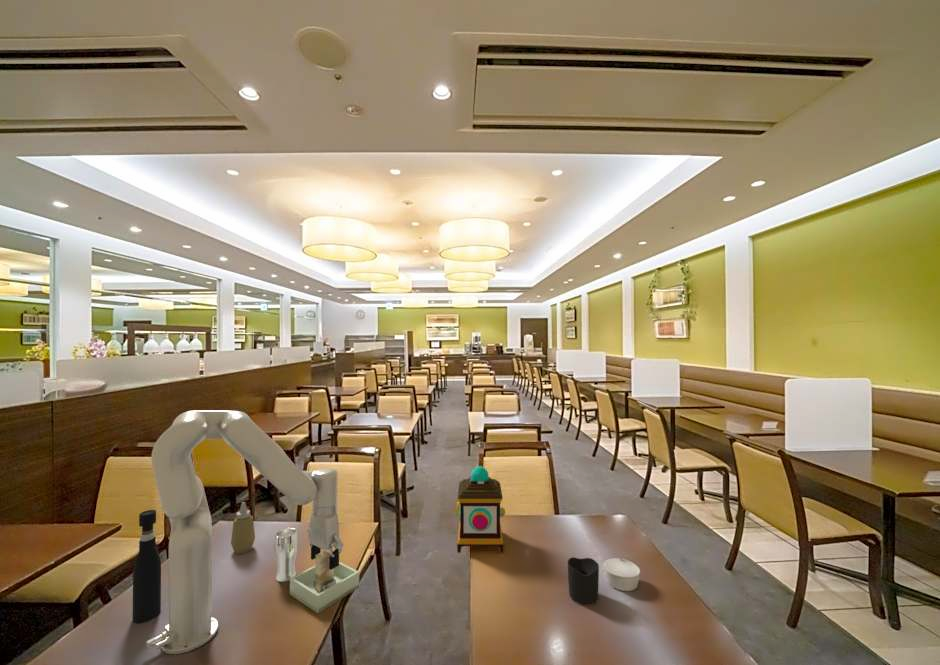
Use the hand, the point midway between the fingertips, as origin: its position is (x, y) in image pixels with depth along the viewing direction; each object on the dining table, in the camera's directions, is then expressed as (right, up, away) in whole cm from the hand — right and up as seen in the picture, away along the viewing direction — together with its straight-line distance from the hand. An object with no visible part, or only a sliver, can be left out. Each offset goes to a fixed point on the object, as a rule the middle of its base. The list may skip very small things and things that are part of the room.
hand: (324, 562), depth 128 cm
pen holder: (+82, -9, -3) cm, 83 cm away
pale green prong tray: (0, -9, 0) cm, 9 cm away
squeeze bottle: (-40, -10, +25) cm, 48 cm away
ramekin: (+97, -9, +4) cm, 97 cm away
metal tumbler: (-16, -9, +8) cm, 20 cm away
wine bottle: (-48, -9, -11) cm, 50 cm away
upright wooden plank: (0, -8, 0) cm, 8 cm away
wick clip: (0, -9, 0) cm, 9 cm away
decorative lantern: (+50, -10, +30) cm, 60 cm away
